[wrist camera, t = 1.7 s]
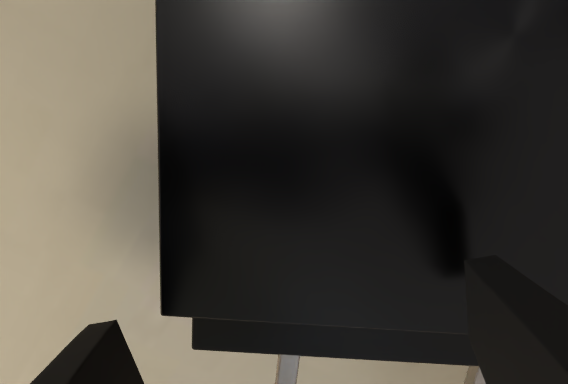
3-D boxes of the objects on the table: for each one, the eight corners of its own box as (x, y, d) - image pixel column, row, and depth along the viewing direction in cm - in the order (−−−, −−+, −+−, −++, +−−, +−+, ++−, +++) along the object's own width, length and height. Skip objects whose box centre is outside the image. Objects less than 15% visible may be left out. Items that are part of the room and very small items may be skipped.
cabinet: (534, 190, 20) (691, 349, 13) (205, 165, 20) (160, 316, 12) (683, -259, 14) (1150, -473, 7) (218, -315, 14) (144, -624, 6)
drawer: (484, 336, 22) (562, 489, 16) (213, 320, 22) (189, 471, 16) (641, -139, 15) (895, -187, 9) (233, -184, 14) (201, -268, 8)
